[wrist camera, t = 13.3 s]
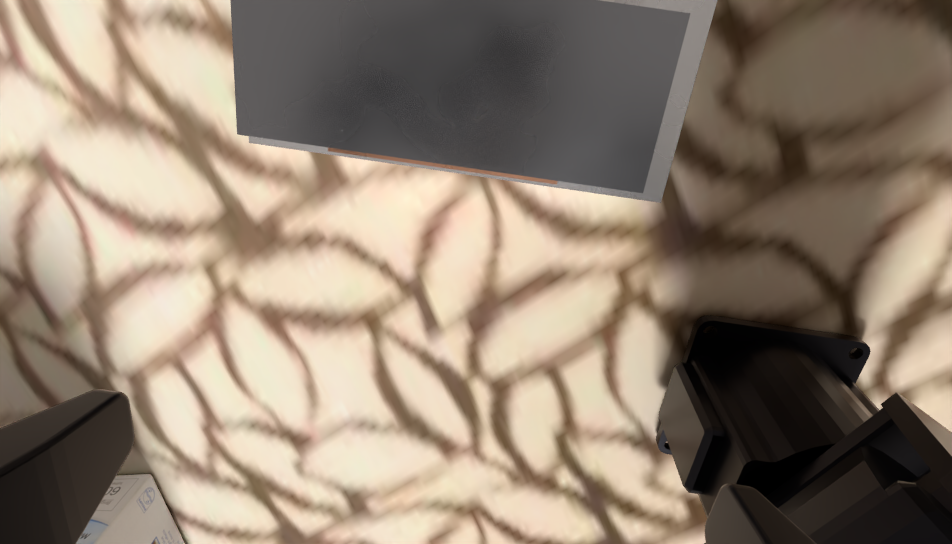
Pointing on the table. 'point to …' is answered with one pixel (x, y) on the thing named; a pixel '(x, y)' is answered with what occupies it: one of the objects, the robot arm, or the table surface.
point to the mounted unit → (476, 85)
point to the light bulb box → (132, 515)
